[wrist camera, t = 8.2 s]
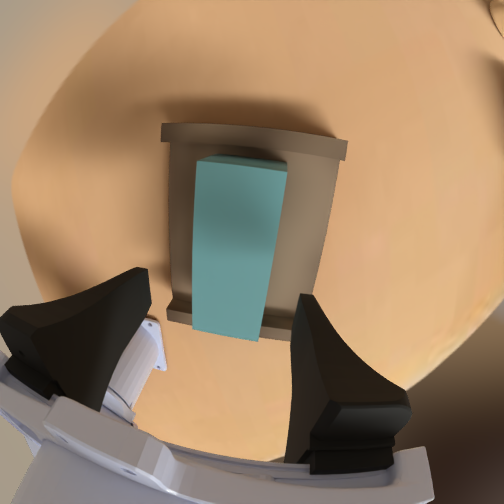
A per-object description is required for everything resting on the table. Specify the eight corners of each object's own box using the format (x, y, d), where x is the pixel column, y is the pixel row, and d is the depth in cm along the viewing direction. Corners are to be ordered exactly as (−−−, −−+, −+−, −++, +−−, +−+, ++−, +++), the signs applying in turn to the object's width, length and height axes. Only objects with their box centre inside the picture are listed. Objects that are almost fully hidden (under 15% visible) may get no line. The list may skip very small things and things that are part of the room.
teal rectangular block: (207, 296, 21) (192, 329, 18) (216, 153, 16) (196, 161, 13) (263, 306, 21) (257, 341, 18) (287, 162, 16) (287, 172, 13)
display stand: (181, 296, 24) (167, 320, 21) (182, 123, 18) (161, 123, 14) (301, 315, 24) (302, 342, 20) (337, 138, 17) (347, 140, 14)
